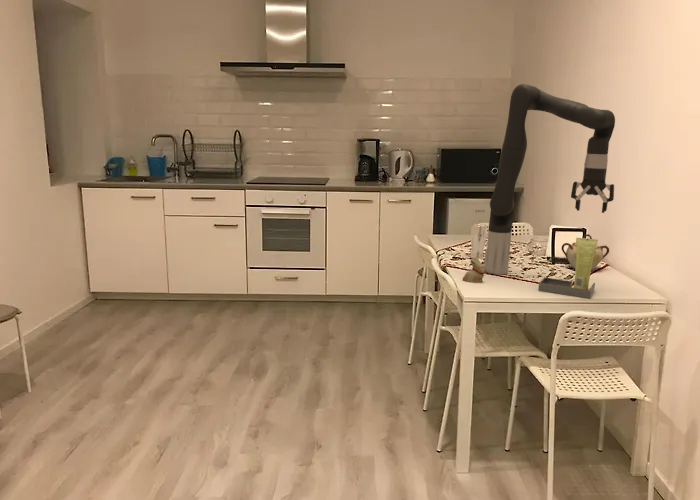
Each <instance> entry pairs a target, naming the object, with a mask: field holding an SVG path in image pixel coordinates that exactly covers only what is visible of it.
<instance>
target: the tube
mask: <svg viewBox="0 0 700 500" xmlns="http://www.w3.org/2000/svg"><path fill="white" fill-rule="evenodd" d="M575 240H576V241H575V243H576V269H575V271H574V282H573V287H574V288H578V289H585V290H588V289H589V283H590V278H591V272H592V270H591V268H592V263H593V258H594V253H595V249H596V245H597V246H598V241H599V240H598V239H597V238H592V239H590V238H586V237H585V238H583V237H576V239H575Z"/></svg>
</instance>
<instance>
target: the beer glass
mask: <svg viewBox="0 0 700 500" xmlns="http://www.w3.org/2000/svg"><path fill="white" fill-rule="evenodd" d="M486 240H487V225H486V224H482V223H472V224H471V229H470V246H471V247H470V248H471V250H470V255H469V258H471V259H473V258H474V257H477V258H478V259H479V260H482V259H485V255H484V248H485V244H486Z"/></svg>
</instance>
